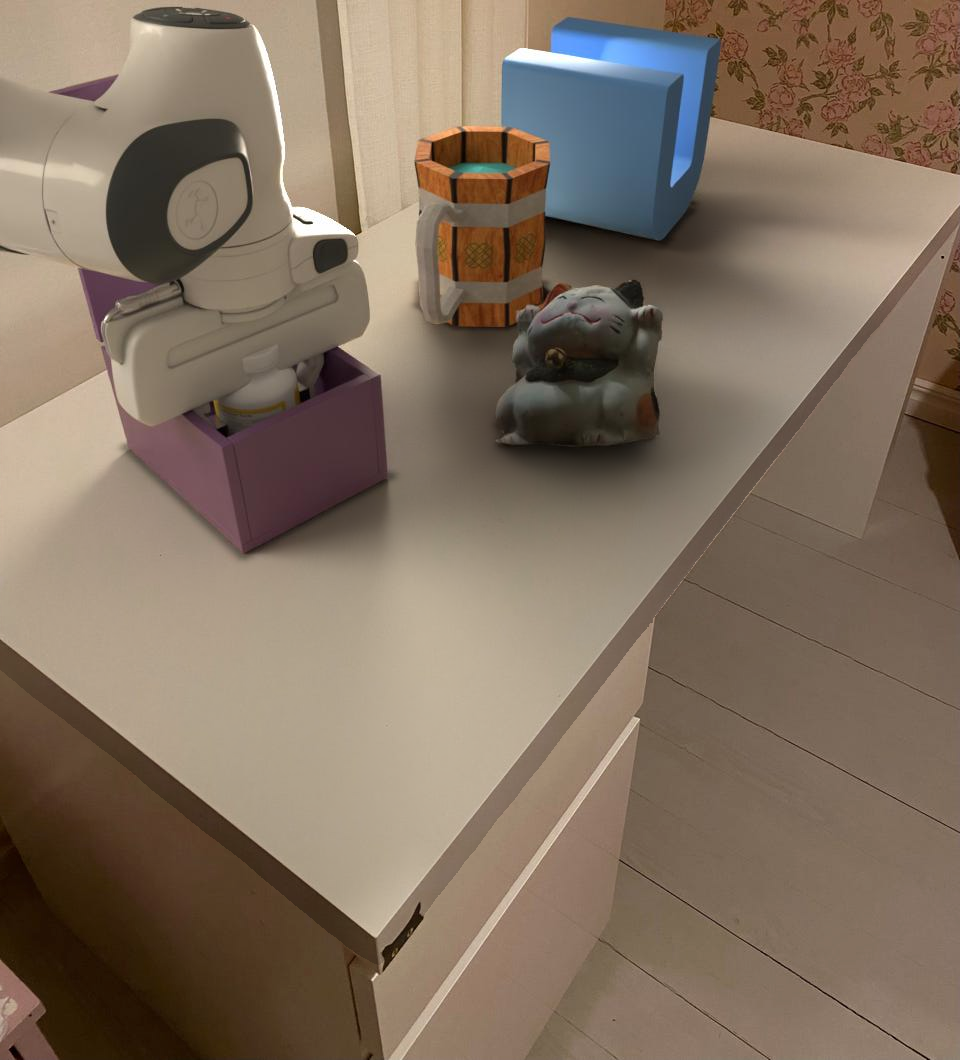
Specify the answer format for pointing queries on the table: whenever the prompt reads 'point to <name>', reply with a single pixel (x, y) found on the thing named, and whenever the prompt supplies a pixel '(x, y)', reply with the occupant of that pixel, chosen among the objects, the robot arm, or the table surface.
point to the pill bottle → (259, 392)
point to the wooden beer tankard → (480, 224)
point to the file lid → (96, 284)
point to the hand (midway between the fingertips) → (260, 421)
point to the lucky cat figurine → (584, 369)
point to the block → (616, 120)
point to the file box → (273, 455)
